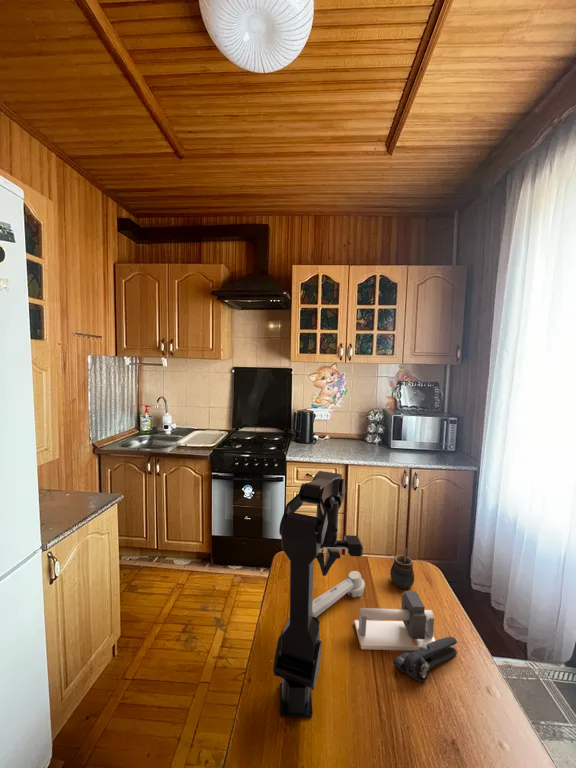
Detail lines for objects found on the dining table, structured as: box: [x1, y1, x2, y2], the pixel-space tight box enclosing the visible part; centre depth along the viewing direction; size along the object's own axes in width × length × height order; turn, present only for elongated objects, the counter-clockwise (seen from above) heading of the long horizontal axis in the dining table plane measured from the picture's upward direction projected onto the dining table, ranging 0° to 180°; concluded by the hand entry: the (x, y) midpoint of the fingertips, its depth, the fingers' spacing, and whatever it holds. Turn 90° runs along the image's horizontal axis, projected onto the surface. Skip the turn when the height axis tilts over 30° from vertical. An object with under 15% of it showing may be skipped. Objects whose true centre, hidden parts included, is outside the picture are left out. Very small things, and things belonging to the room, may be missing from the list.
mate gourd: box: [390, 547, 415, 590], centre depth 108 cm, size 7×8×10 cm
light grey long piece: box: [312, 570, 366, 618], centre depth 98 cm, size 5×7×25 cm
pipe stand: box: [354, 607, 437, 652], centre depth 87 cm, size 8×19×7 cm, turn 91°
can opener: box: [393, 636, 458, 683], centre depth 80 cm, size 18×7×6 cm, turn 116°
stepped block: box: [400, 590, 426, 639], centre depth 87 cm, size 8×3×8 cm, turn 1°
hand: (324, 574), depth 92 cm, fingers closed
